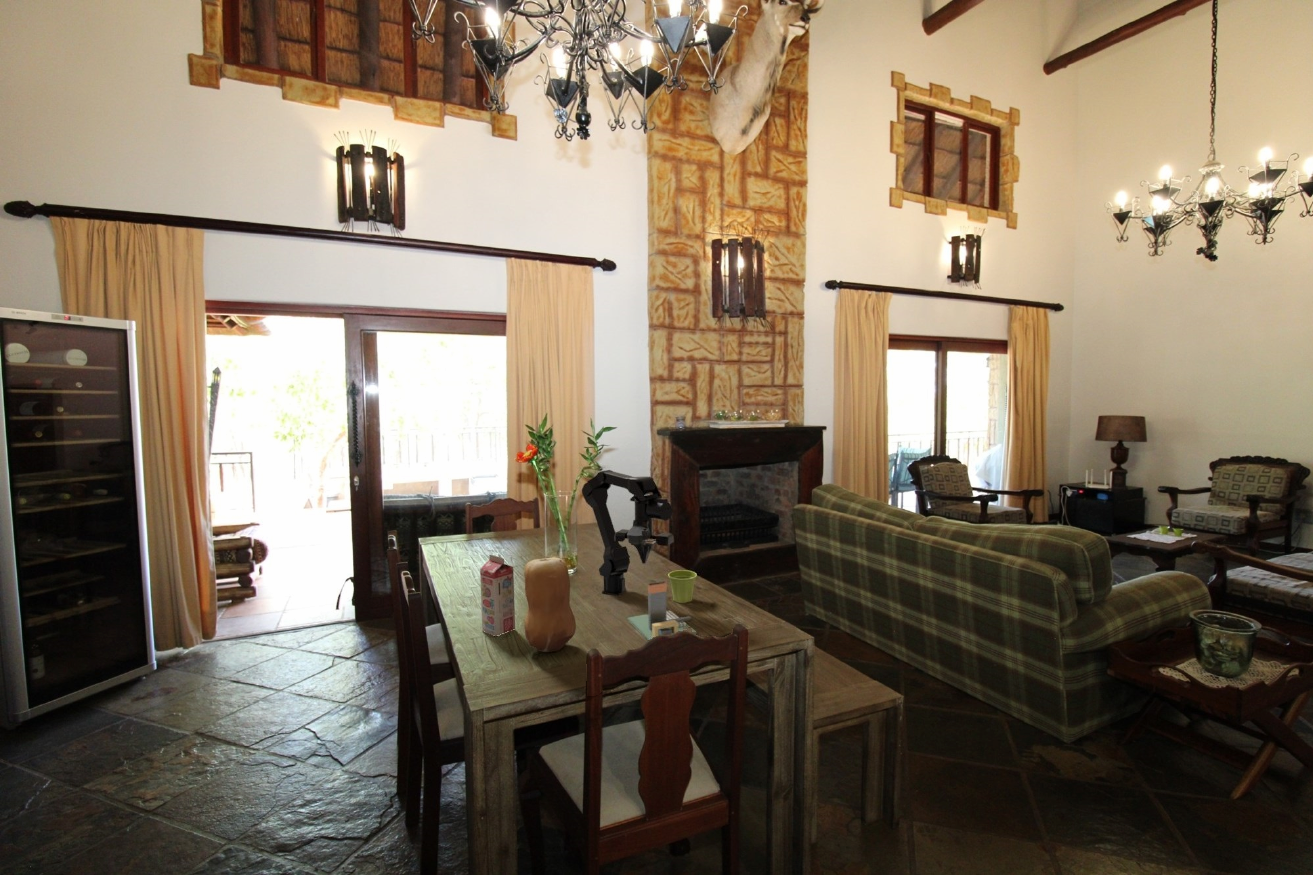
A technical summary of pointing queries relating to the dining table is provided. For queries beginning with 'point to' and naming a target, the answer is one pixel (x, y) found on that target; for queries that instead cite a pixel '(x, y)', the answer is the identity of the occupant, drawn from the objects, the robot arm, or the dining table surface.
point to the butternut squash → (548, 604)
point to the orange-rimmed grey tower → (659, 607)
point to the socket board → (645, 625)
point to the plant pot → (682, 585)
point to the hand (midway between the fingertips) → (644, 563)
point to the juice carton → (497, 596)
